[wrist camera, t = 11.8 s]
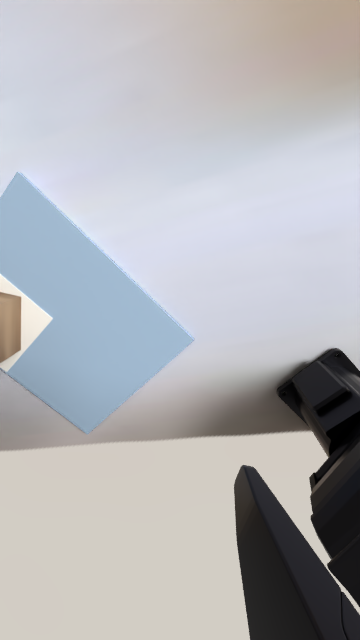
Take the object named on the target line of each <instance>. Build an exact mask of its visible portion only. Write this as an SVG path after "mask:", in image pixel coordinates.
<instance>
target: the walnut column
mask: <svg viewBox="0 0 360 640" xmlns="http://www.w3.org/2000/svg"><path fill="white" fill-rule="evenodd" d="M20 350H21V297H20V296H16V295H11V294H7V293H3V292H0V363H2V362H3V361H5V360H6V359H8V358H9V357H11V356H12V355H14V354H15V353H17V352H18V351H20Z"/></svg>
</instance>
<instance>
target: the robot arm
mask: <svg viewBox="0 0 360 640" xmlns="http://www.w3.org/2000/svg"><path fill="white" fill-rule="evenodd" d="M336 353H338V355H337V356H335V354H336ZM283 391H285V392H284V393H283V394H282V392H283ZM277 394H278V396H279V397H280V398H281V399H282V400H283V401H284V402H285V403H286V404H287V405H288V406H289V407H290V408H291V409H292V410H293V411H294V412H295V413H296V414H297V415H298V416H299V417H300V418H301V419H302V420H303V421H304V422H305V423H306V424H307V425H308V426H309V427H310V428H311V430H312V432H313V433H314V435H315V436H316V438H317V440H318V441H319V443H320V445H321V446H322V448H323V449H324V451H325V453H326V454H327V456H328V457H329V458H328V459H327V460H326V461H325V463H324V464H323V465H322V466H321V467H320V469H319V470H318V471H317V472H316V473H313V474H312V475H311V476H310V485H311V491H312V493H311V496H310V498H311V505H312V511H313V514H312V515H311V521H312V524H313V526H314V528H315V531H316V533H317V536H318V538H319V540H320V541H321V543H322V544H323V546H324V548H325V550H326V552H327V553H328V555H329V557H330V558H331V561H330V562H329V563H328V564H327V566H328V569H329V570H330V571H331V573H332V574H333V575H334V576H335V577H336V578H337V579H338V580H339V582H340V583H341V584H342V585H343V586H344V587H345V588H346V590H348V592H349V593H350V595H351V596H352V597H353V599H354V600H355V601H356V602H357V604H358V605H359V607H360V371H359V370H358V369H357V367H356V366H355V365H354V364H353V363H352V362H351V361H350V360H349V358H348V357H347V356H346V355H345V354H344V353H343V352H342V351H341V350H340V349H337V348H334V349H332V350H330V351H329V352H328V353H326V354H325V355H324V356H322V357H321V358H319V359H318V360H317V361H315V362H314V363H312V364H311V365H309V366H308V367H307V368H305V369H304V370H303V371H301V372H300V373H298V374H297V375H296V376H294V377H293V378H292V379H290V380H289V381H288V382H286V383H285V384H283V385H282V386H281V387H279V388H278V389H277ZM234 494H235V513H236V514H235V515H236V535H237V546H238V553H239V560H240V568H241V575H242V583H243V590H244V597H245V605H246V612H247V619H248V626H249V634H250V640H360V615H359V613H358V612H357V611H356V609H355V608H354V606H353V605H352V604H351V602H350V601H349V599H348V598H347V597H346V595H345V594H344V592H341V589H340V587H339V585H338V584H337V583H336V581H335V580H334V578H333V577H332V576H331V574H330V573H329V572H328V570H327V569H326V567H325V566H324V564H323V563H322V562H321V560H320V559H319V558H318V556H317V555H316V553H315V552H314V551H313V549H312V548H311V546H310V545H309V543H308V542H307V541H306V539H305V538H304V536H303V535H302V534H301V532H300V531H299V529H298V528H297V527H296V525H295V524H294V523H293V521H292V520H291V518H290V517H289V515H288V514H287V513H286V511H285V510H284V508H283V507H282V506H281V504H280V503H279V501H278V500H277V499H276V497H275V496H274V494H273V493H272V492H271V490H270V489H269V487H268V486H267V484H266V483H265V482H264V480H263V479H262V477H261V476H260V475H259V473H258V472H257V470H256V469H255V468H254V467H251V466H246V465H243V466H242V467H241V468H240V470H239V473H238V475H237V478H236V480H235V484H234Z"/></svg>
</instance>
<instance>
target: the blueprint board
mask: <svg viewBox="0 0 360 640" xmlns="http://www.w3.org/2000/svg"><path fill="white" fill-rule="evenodd" d="M0 292H3V293H7V294H11V295H16V296H20V297H21V350H20V351H18V352H17V353H15V354H14V355H12V356H11V357H9V358H8V359H6V360H5V361H3V362H2V363H0V369H1V370H2V371H4V372H5V373H6V374H8V375H9V376H10V377H12V378H13V379H14V380H16V381H17V382H18V383H20V384H21V385H22V386H24V387H25V388H26V389H28V390H29V391H30V392H32V393H33V394H34V395H36V396H37V397H38V398H40V399H41V400H42V401H43V402H45V403H46V404H47V405H49V406H50V407H51V408H53V409H54V410H55V411H57V412H58V413H59V414H61V415H62V416H63V417H65V418H66V419H67V420H69V421H70V422H71V423H73V424H74V425H75V426H77V427H78V428H79V429H81V430H82V431H83V432H85V433H86V434H89V433H90V432H91V431H92V430H93V429H94V428H95V427H96V426H98V425H99V424H100V423H101V422H102V421H103V420H104V419H106V418H107V417H108V416H109V415H110V414H111V413H112V412H113V411H115V410H116V409H117V408H118V407H119V406H120V405H121V404H123V403H124V402H125V401H126V400H127V399H128V398H129V397H130V396H132V395H133V394H134V393H135V392H136V391H137V390H138V389H139V388H141V387H142V386H143V385H144V384H145V383H146V382H147V381H149V380H150V379H151V378H152V377H153V376H154V375H155V374H156V373H158V372H159V371H160V370H161V369H162V368H163V367H164V366H166V365H167V364H168V363H169V362H170V361H171V360H172V359H173V358H175V357H176V356H177V355H178V354H179V353H180V352H181V351H183V350H184V349H185V348H186V347H187V346H188V345H189V344H190V343H192V342H193V341H194V338H193V337H192V336H191V335H190V334H189V333H188V332H187V331H186V330H185V329H183V328H182V327H181V326H180V325H179V324H178V323H177V322H176V321H175V320H174V319H173V318H172V317H171V316H170V315H169V314H168V313H167V312H166V311H165V310H164V309H163V308H162V307H161V306H159V305H158V304H157V303H156V302H155V301H154V300H153V299H152V298H151V297H150V296H149V295H148V294H147V293H146V292H145V291H144V290H143V289H142V288H141V287H140V286H139V285H138V284H136V283H135V282H134V281H133V280H132V279H131V278H130V277H129V276H128V275H127V274H126V273H125V272H124V271H123V270H122V269H121V268H120V267H119V266H118V265H117V264H116V263H115V262H114V261H112V260H111V259H110V258H109V257H108V256H107V255H106V254H105V253H104V252H103V251H102V250H101V249H100V248H99V247H98V246H97V245H96V244H95V243H94V242H93V241H92V240H91V239H89V238H88V237H87V236H86V235H85V234H84V233H83V232H82V231H81V230H80V229H79V228H78V227H77V226H76V225H75V224H74V223H73V222H72V221H71V220H70V219H69V218H68V217H67V216H65V215H64V214H63V213H62V212H61V211H60V210H59V209H58V208H57V207H56V206H55V205H54V204H53V203H52V202H51V201H50V200H49V199H48V198H47V197H46V196H45V195H44V194H42V193H41V192H40V191H39V190H38V189H37V188H36V187H35V186H34V185H33V184H32V183H31V182H30V181H29V180H28V179H27V178H26V177H25V176H24V175H23V174H22V173H20V172H17V173H16V175H15V176H14V178H13V179H12V181H11V182H10V184H9V185H8V187H7V188H6V190H5V192H4V193H3V195H2V196H1V198H0Z"/></svg>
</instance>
